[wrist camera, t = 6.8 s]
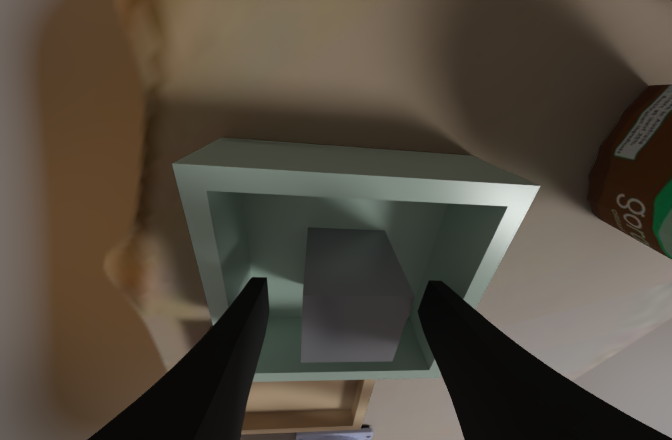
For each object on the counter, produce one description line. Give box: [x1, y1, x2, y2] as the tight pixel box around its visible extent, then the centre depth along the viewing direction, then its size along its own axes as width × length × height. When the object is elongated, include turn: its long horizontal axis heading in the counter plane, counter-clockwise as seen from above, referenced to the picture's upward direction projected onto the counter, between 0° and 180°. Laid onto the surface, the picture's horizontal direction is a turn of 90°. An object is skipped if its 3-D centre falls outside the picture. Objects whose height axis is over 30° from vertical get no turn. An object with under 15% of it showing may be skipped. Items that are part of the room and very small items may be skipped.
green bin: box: [172, 137, 540, 382], centre depth 12 cm, size 12×12×4 cm
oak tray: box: [209, 327, 375, 435], centre depth 19 cm, size 12×12×2 cm
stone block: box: [301, 227, 415, 363], centre depth 11 cm, size 4×4×4 cm
